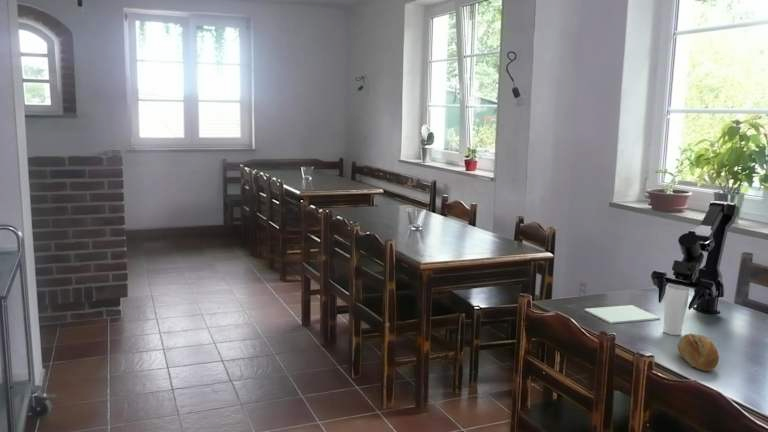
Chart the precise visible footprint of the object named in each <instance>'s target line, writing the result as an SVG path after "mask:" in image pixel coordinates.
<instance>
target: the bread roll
mask: <svg viewBox="0 0 768 432" xmlns="http://www.w3.org/2000/svg"><path fill="white" fill-rule="evenodd" d="M677 350H678V353H679V355H680V356H681V357H682V358H683V359H684V360H685V362H687V363H688V364H689V365H690V366H692V367H694V368H696V369H697V370H700V371H704V372H712V371H713V370H715V368H716V367H717V366H718V364H719V360H720V355H719V351H718V348H717V346H716V345H715V343H714V341H712V339H710V337H707V336H704V335H701V334H695V333H688V334H687V333H686V334H683V336H682V337H681V338H680V339H679V340H678V343H677Z"/></svg>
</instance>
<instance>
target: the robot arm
mask: <svg viewBox="0 0 768 432" xmlns="http://www.w3.org/2000/svg"><path fill="white" fill-rule="evenodd" d="M739 213H740V206H737V204H736V203H735V202H728V201H727V202H726V201H719V200H717V201H716V200H713V201H710V202H709V205H708V209H707V211H706V214H705V215H704V217H703V218H702V221H701V223H700V224H699V226H697V227H695V228H693V229H692V230H688V232H685V233H682V234H681V235H680V236H679V237H678V239H677V240H678V241H677V242H678V245H679V249H680V253H681V255H683V257H682V259H681V260H676V259H674V260H673V263H672V268H671V271H672V275H673V276H674V277H671V276H668V275H667V272H666V271H663V270H657V269H654V270H653V271H651V274H650V277H651V280H652V284H653V285H654V286H655V287H656V288H657V289H658V303H659V304H661V302H662V301H663V299H664V298H665V290H666V286H667V285H681V286H685V287H687V288H689V289H693V293H694V294H693V295H692V297H691V300H690V302H689V303H688V304H689V305H688V306H687V309H688V311H690V310H692V309H694V310H696V311H698V312H700V313H703V314H706V315H709V314H710V315H711V314H720V313H721V310H718V305H719V298H724V296H725V286H724V285H725V284H724V281H723V275H722V272H721V270H720V266H721V261H722V257H723V254H724V253H723V252H724V248H725V244H726V239H727V235H728V231H729V228H730V227H731V226H733V224H734V223H735V222H736V219H737V217H738V216H739ZM703 252H704V253H707V254H706V260H705V264H704V265H703V266H702V264H703V263H704V258H705V255H704V253H703Z"/></svg>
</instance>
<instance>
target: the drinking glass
mask: <svg viewBox="0 0 768 432" xmlns="http://www.w3.org/2000/svg"><path fill="white" fill-rule="evenodd" d="M689 296H690V288H688V287H685V286H681V285H675V284H667V286H666V290H665V295H664V297H663V299H664V300H663V302H664V303H663V327H662V330H663V332H664V333H665V334H666V335H671V336H680V335H681V334H682V331H683V326H684V321H685V316H686V312H687V309H688V304H689Z"/></svg>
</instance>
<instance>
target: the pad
mask: <svg viewBox="0 0 768 432" xmlns="http://www.w3.org/2000/svg"><path fill="white" fill-rule="evenodd" d="M583 311H585V312H587V314H588V313H589V314H591V315H593V316H595V317H596V318H598V319H600V320H603V321H604V322H606V323H608V324H610V325H613V324H614V325H615V324H623V323H624V324H625V323H636V322H646V321H657V320H659V321H660V320H661V317H660V316H658V315H655V314H653V313H651V312H650V311H649V312H648V311H646V310H643V309H642V308H639V307H637V306H635V305H633V304H630V305H617V306H616V305H615V306H614V305H613V306H603V307H591V308H590V307H589V308H584V310H583Z"/></svg>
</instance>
